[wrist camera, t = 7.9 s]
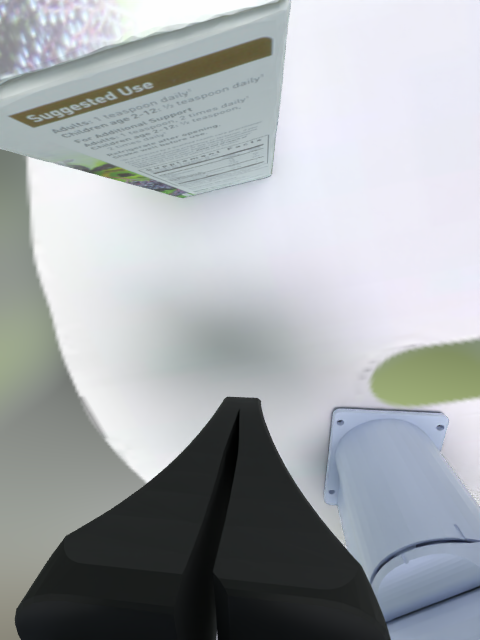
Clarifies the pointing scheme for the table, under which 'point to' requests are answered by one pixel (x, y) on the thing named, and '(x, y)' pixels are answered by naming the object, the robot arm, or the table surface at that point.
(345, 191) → the table surface
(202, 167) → the syrup box
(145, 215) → the table surface
